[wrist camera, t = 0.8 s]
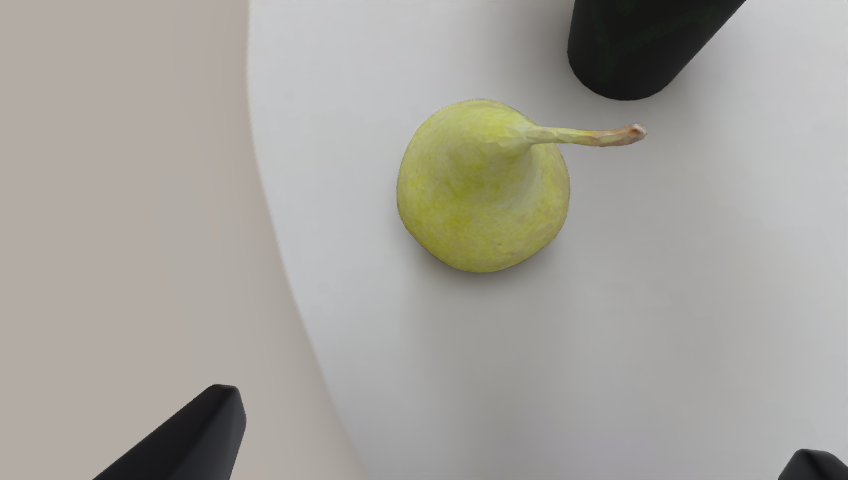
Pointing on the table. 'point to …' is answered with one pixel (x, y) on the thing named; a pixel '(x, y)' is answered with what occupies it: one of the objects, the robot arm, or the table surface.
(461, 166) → the fruit
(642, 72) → the cup
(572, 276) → the table surface
